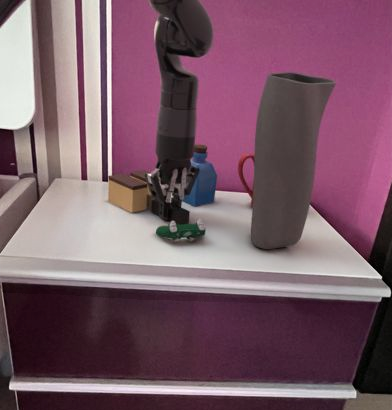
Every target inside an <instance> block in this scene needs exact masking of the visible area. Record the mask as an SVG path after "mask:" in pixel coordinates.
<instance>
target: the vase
mask: <svg viewBox="0 0 392 410" xmlns="http://www.w3.org/2000/svg"><path fill="white" fill-rule="evenodd" d="M336 85H337V81H336V80H334V79H330V78H326V77H320V76H313V75H310V74H309V75H308V74H304V73H299V72H293V71H285V72H283V71H282V72H270V73H268V74H267V77H266V80H265V83H264V86H263V90H262V93H261V97H260V101H259V105H258V110H257V116H256V124H255V135H254V155H255V156H254V162H253V182H254V192H253V207H252V211H251V223H250V240H251V243H252V245H254V246H255V247H257V248H259V249H262V250H275V249H279V248H287V247H291V246H293V245H295V244H297V243H298V242H299V241H300V240H301V238H302V236H303V232H304V229H305V225H306V223H307V222H306V221H307V217H308V213H309V210H310V205H311V200H312V196H313V189H314V182H315V175H316V174H315V173H316V165H317V151H318V142H319V133H320V127H321V123H322V119H323V116H324V113H325V111H326V107H327V105H328V102H329V100H330V99H331V98H330V97H331V95H332V94H333V91H334V89H335V87H336Z"/></svg>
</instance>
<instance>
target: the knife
mask: <svg viewBox="0 0 392 410" xmlns="http://www.w3.org/2000/svg"><path fill="white" fill-rule="evenodd" d="M146 209H149V210H150V212H151V213H153V214H155V215H157V216H159V200H157V199H155V198H152V196H151V194H148V193H147V204H146ZM190 215H191V211H190V210H188V209H186V208H184V207H182V206H181V207H179V206H177V205H174V204H172V203H171V202H170V214H169V219H168V220H167V221H170V222H171V221H175V223H176V224H177V225H182V224H190Z"/></svg>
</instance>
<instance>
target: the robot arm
mask: <svg viewBox="0 0 392 410" xmlns="http://www.w3.org/2000/svg"><path fill="white" fill-rule="evenodd" d="M26 1H27V0H0V29H1V28H2V27H3V26H4V25H5V24H6V22H8V20H9V19H10V18H11V17H12V16H13V14H14V13H15V12H16V11H17V10H18V9H19V8H20V7H21V6H22V5H23V4H24V3H25V2H26ZM148 3H149V5H150V7H151V8H152V10H153V12H154V13H156V14H157V15H158V16H157V18H156V19H155V23H154V28H153V41H154V49H155V52H156V53H155V54H156V58H157V66H158V71H159V77H160V89H159V91H160V92H159V93H160V95H159V104H158V105H159V106H158V112H157V117H156V118H157V119H156V135H155V155H156V157H157V161H156V163H155V169H154V170H152V171H151V172H150V171H148V172H146V173H145V179H146V181H147V184H148V187H149V190H150V193H151V196H152V198H155V199H157V200H159V215H158V216H159V218H160V219H162V220H164V221H169V220H168V219H169V214H170V203H172V204H174V205H177V206H179V207H181V208H182V205H183V201H182V200H183V199H184V196H186V195H187V196H188V195H190V193H191V190H192V188H193V186H194V183H195V181H196V178H197V176H198V174H199V171H200V169H199V168H198V167H195V166H193V165H191V161H190V160H192V159H193V155H194V145H196V132H197V124H198V123H197V122H198V115H197V111H198V110H197V109H198V97H199V88H200V87H199V86H200V80H199V77H198V75H197V74H196V73H194V72H192V71H190V70H188V69H187V68H185V67H184V65H183V63H182V59H181V57H184V58H191V59H201V58H204V57H205V56H206V55H208V54H209V52H210V51H211V49H212V48H213V44H214V38H215V33H214V26H213V22H212V19H211V16H210V14H209V12H208V11H207V9H206V7H205V6H204V4H203V3H202V1H201V0H148ZM149 172H150V173H149ZM187 183H188V186H187V188H186V184H187ZM165 184H167V185H168V186H167V185H165ZM165 191H166V194H165V195H164V193H165Z"/></svg>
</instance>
